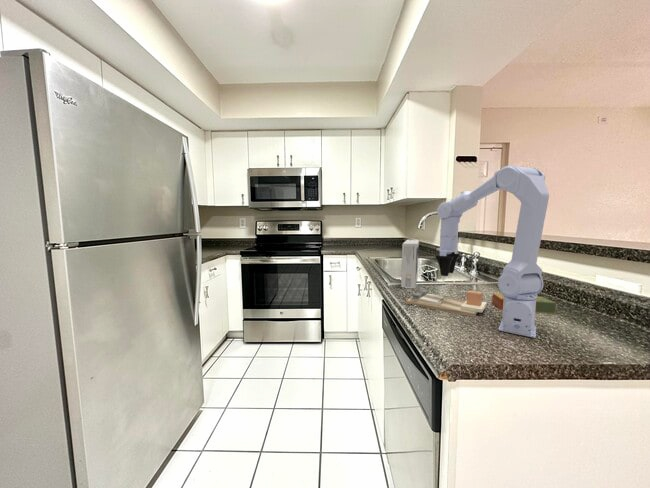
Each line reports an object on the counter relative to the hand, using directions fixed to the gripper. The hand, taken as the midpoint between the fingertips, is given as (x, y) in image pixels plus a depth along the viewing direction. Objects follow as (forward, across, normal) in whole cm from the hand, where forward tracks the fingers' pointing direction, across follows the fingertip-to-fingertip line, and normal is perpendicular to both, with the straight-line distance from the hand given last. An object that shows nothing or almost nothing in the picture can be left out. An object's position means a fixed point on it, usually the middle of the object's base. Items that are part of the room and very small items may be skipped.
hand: (447, 274), depth 99 cm
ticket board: (+10, +4, 0) cm, 11 cm away
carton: (+11, -10, +22) cm, 26 cm away
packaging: (+11, -26, -23) cm, 36 cm away
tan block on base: (+9, +4, +10) cm, 14 cm away
